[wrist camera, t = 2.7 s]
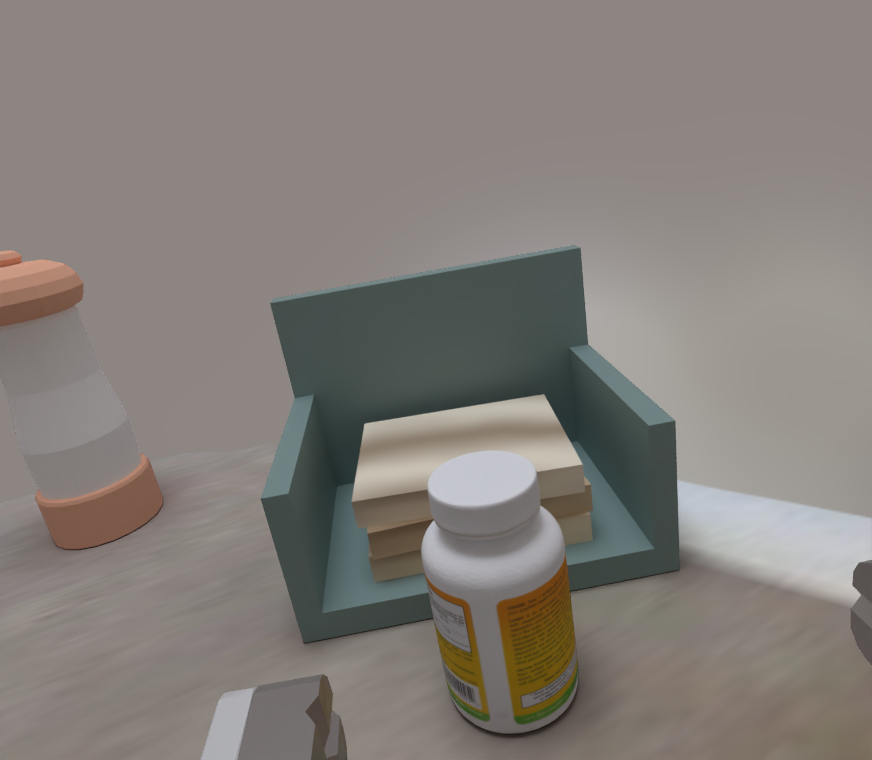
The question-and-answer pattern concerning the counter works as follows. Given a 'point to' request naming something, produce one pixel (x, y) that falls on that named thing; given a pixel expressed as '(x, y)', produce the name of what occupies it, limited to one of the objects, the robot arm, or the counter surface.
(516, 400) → the birch offcut top
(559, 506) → the board
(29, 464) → the pepper shaker
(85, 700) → the counter surface
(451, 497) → the supplement bottle
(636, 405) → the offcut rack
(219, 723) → the robot arm
